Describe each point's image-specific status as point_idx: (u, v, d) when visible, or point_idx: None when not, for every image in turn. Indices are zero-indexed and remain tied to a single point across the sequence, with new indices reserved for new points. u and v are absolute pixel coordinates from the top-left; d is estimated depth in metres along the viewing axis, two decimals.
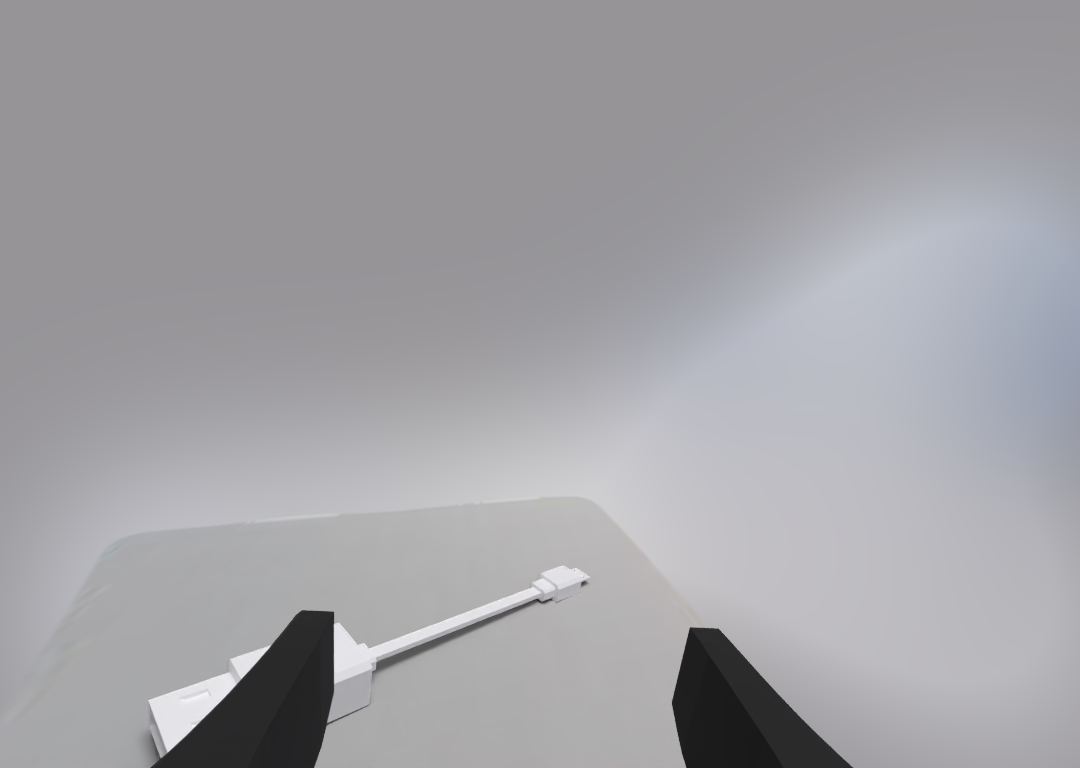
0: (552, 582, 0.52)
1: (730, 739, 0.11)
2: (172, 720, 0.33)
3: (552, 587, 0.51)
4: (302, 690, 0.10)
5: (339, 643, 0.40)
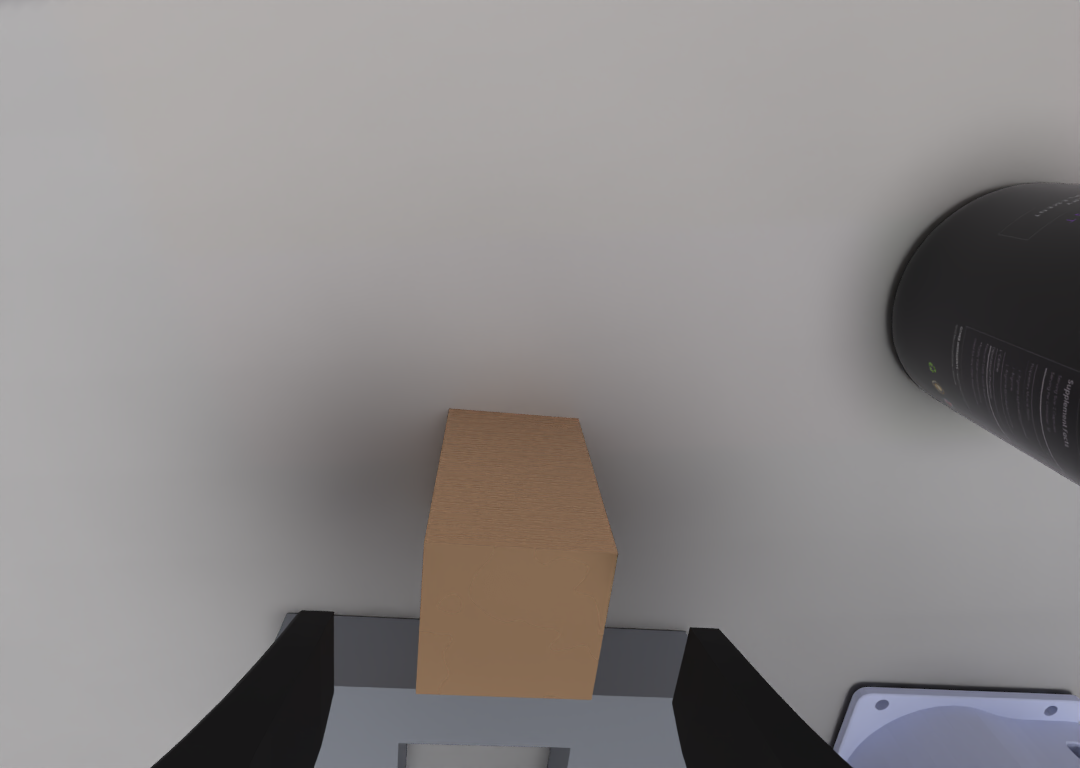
0: None
1: (730, 739, 0.11)
2: None
3: None
4: (302, 690, 0.10)
5: None
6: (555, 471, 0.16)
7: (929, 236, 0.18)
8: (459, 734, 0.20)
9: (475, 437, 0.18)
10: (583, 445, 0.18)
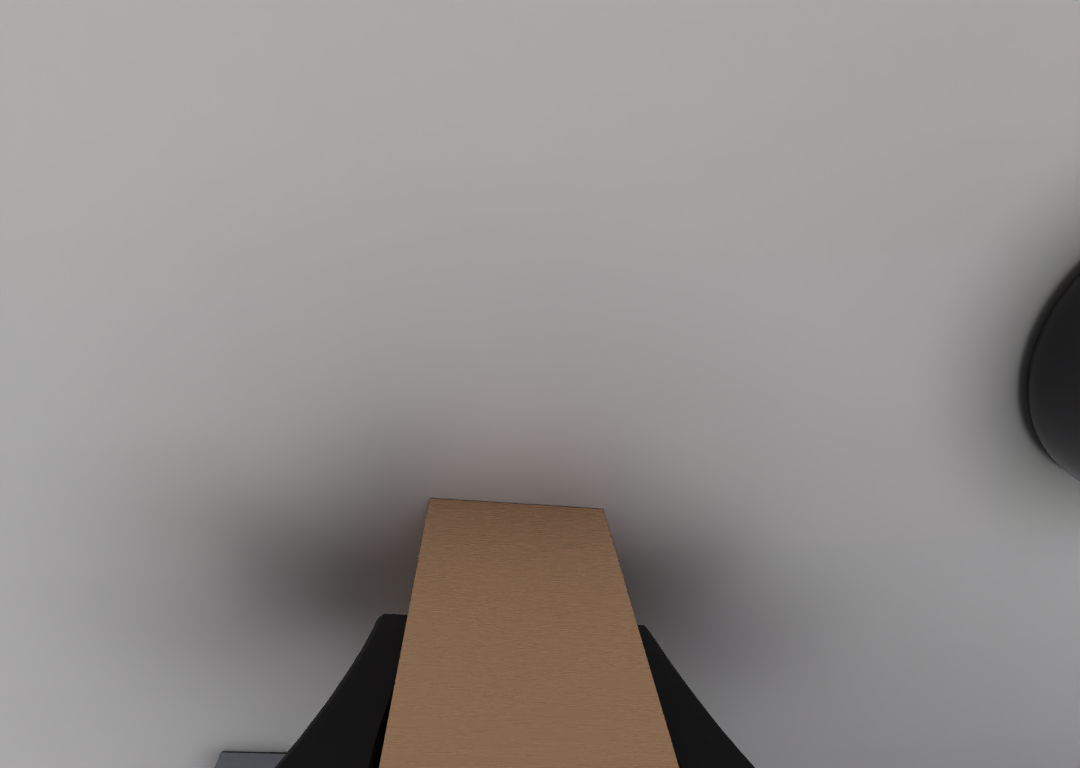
0: None
1: None
2: None
3: None
4: None
5: None
6: (578, 614, 0.11)
7: None
8: None
9: (464, 550, 0.13)
10: (614, 559, 0.13)
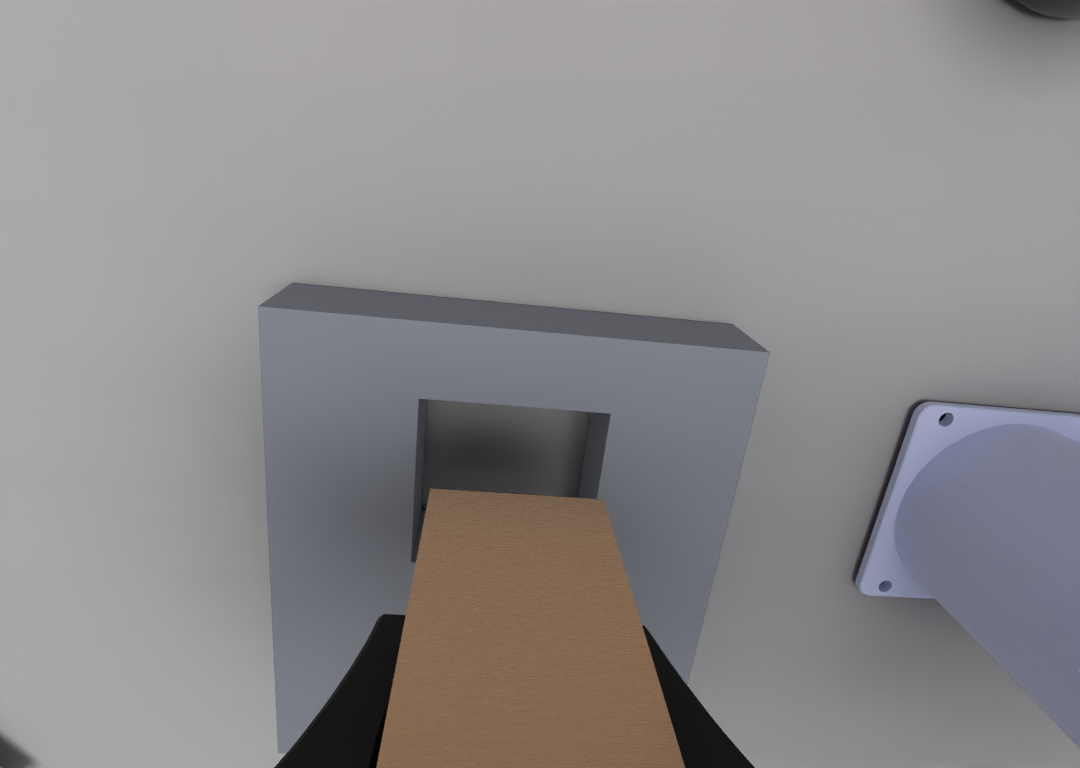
0: None
1: None
2: None
3: None
4: None
5: None
6: (579, 602, 0.11)
7: None
8: (487, 389, 0.18)
9: (464, 539, 0.13)
10: (615, 548, 0.13)
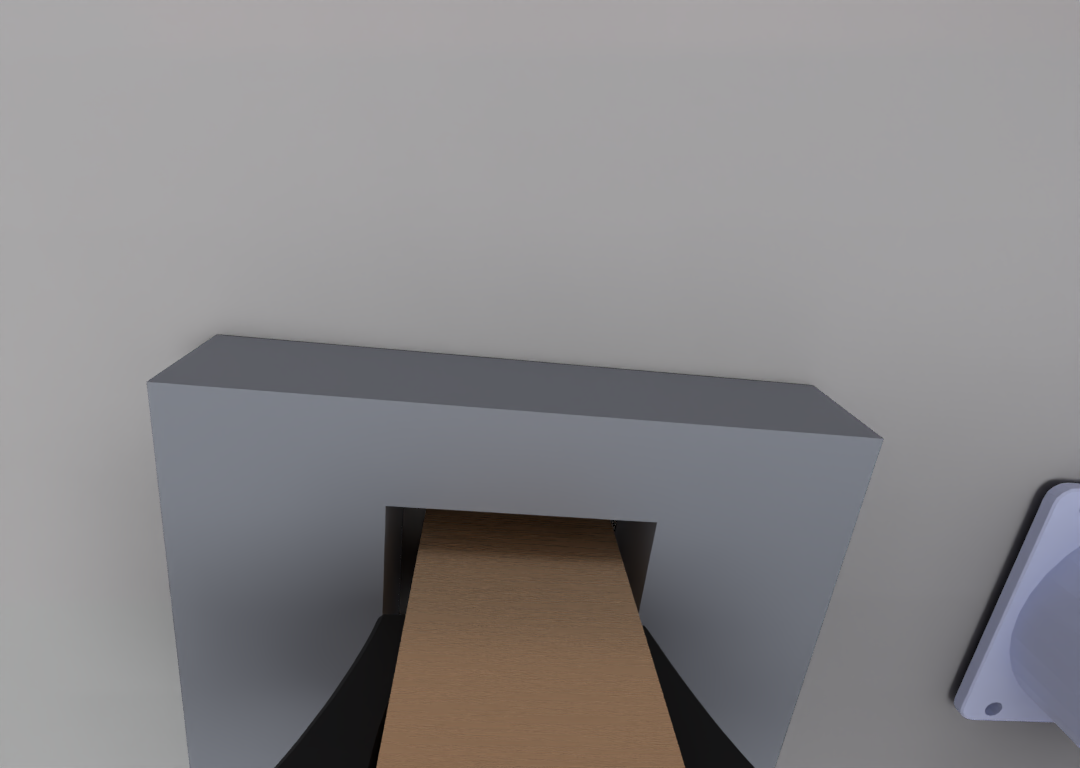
0: None
1: None
2: None
3: None
4: None
5: None
6: (579, 602, 0.11)
7: None
8: (483, 492, 0.12)
9: (464, 540, 0.13)
10: (615, 548, 0.13)
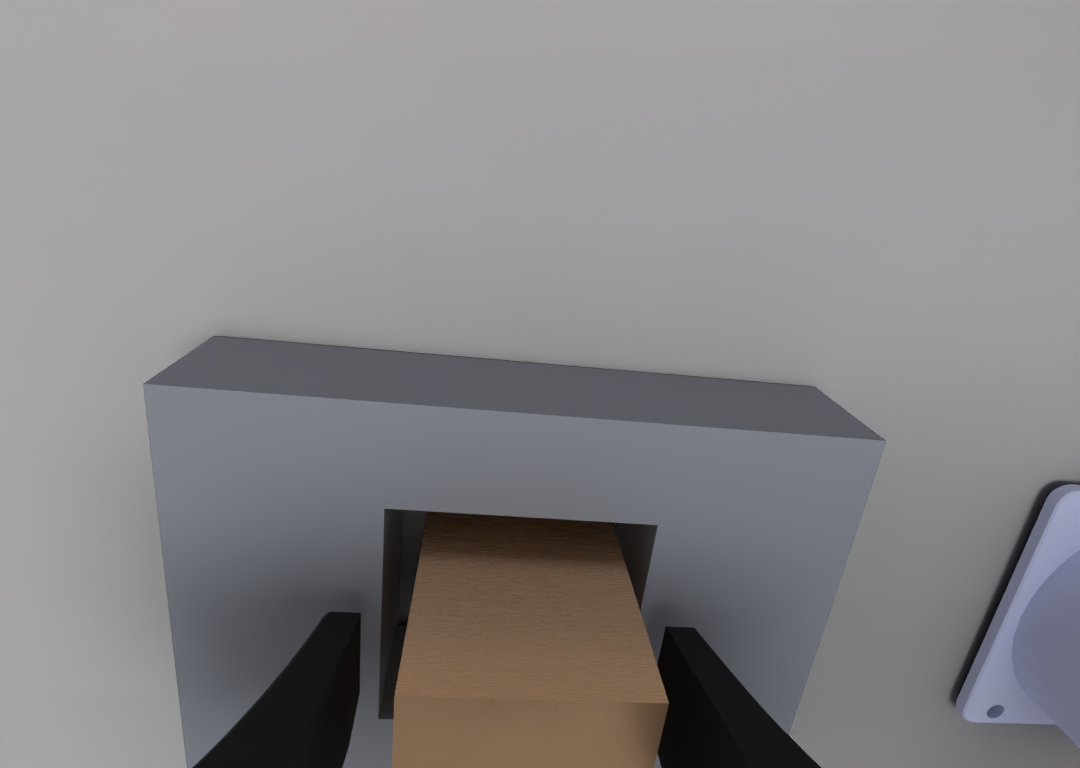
0: None
1: (701, 738, 0.11)
2: None
3: None
4: (334, 692, 0.10)
5: None
6: (573, 559, 0.12)
7: None
8: (482, 495, 0.12)
9: None
10: None
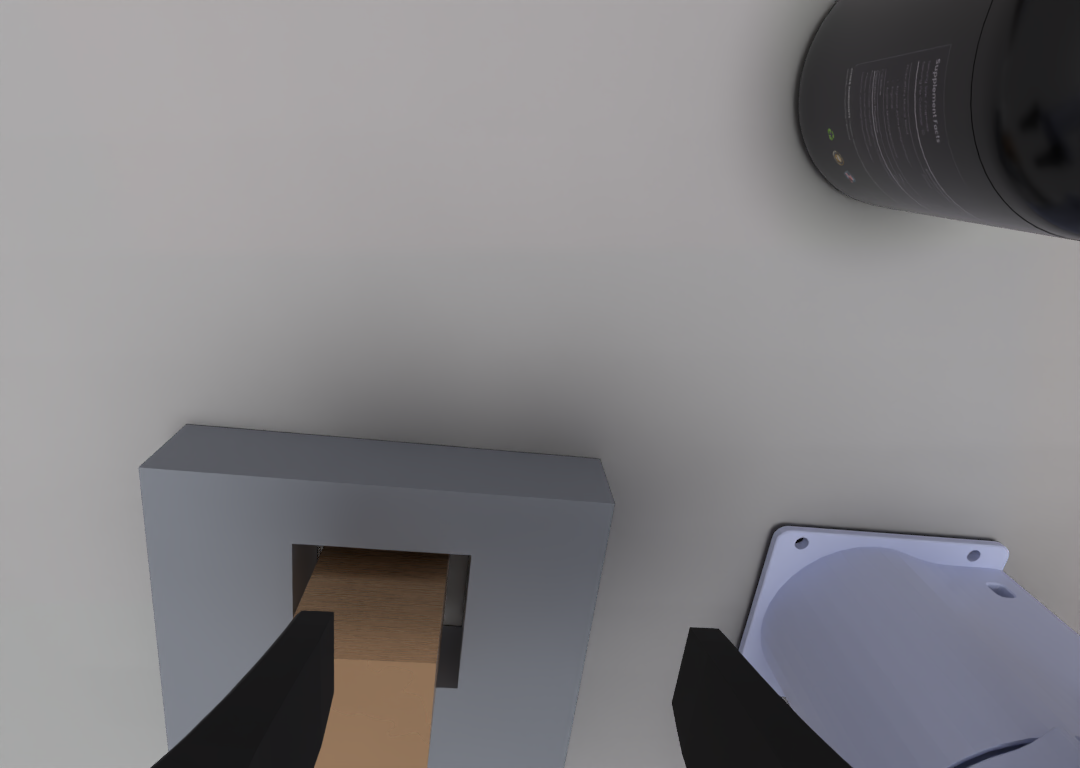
0: None
1: (730, 739, 0.11)
2: None
3: None
4: (302, 690, 0.10)
5: None
6: (412, 577, 0.19)
7: (833, 7, 0.17)
8: (355, 535, 0.19)
9: None
10: None
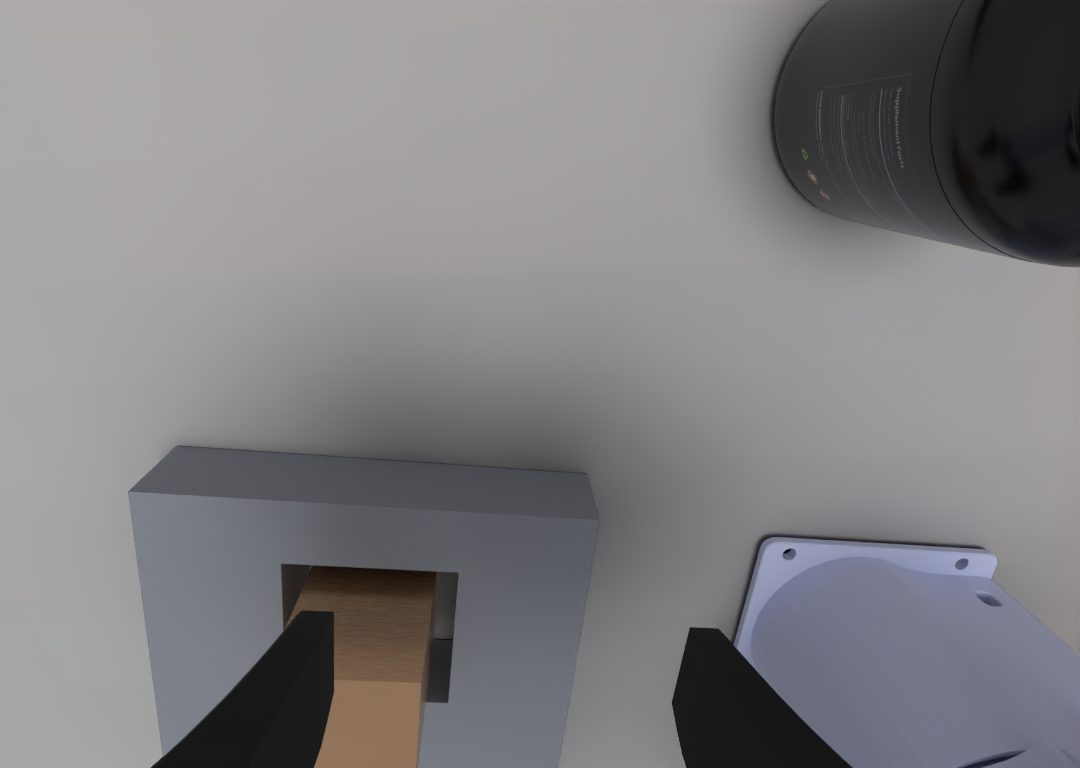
0: None
1: (730, 739, 0.11)
2: None
3: None
4: (302, 690, 0.10)
5: None
6: (400, 595, 0.20)
7: (806, 27, 0.18)
8: (342, 554, 0.20)
9: None
10: None
